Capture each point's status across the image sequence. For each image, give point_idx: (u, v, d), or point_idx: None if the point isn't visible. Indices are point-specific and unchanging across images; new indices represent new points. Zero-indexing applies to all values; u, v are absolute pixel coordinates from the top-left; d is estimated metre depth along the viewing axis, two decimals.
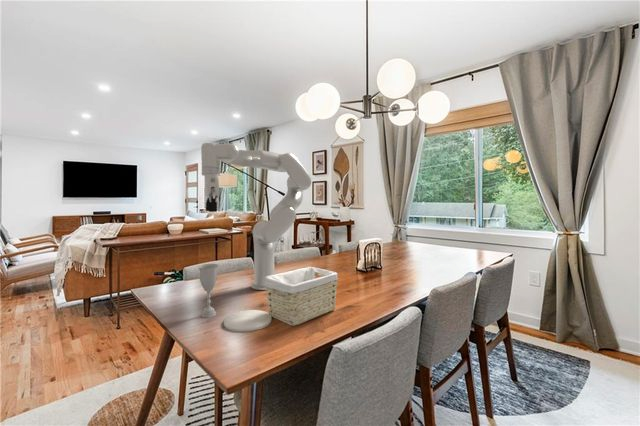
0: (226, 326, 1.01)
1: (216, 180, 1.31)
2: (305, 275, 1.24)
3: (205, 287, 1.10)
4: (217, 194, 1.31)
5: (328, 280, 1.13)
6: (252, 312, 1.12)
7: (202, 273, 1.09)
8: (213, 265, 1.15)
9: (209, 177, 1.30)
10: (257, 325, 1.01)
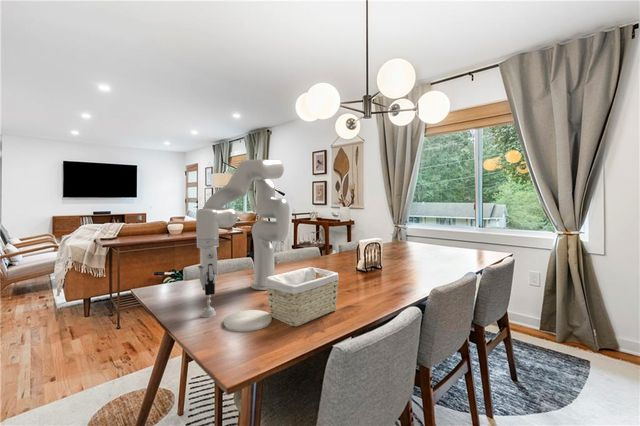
0: (226, 326, 1.01)
1: (214, 255, 1.08)
2: (306, 275, 1.24)
3: None
4: (215, 272, 1.08)
5: (329, 280, 1.12)
6: (252, 312, 1.12)
7: (202, 273, 1.09)
8: None
9: (206, 252, 1.07)
10: (257, 325, 1.01)
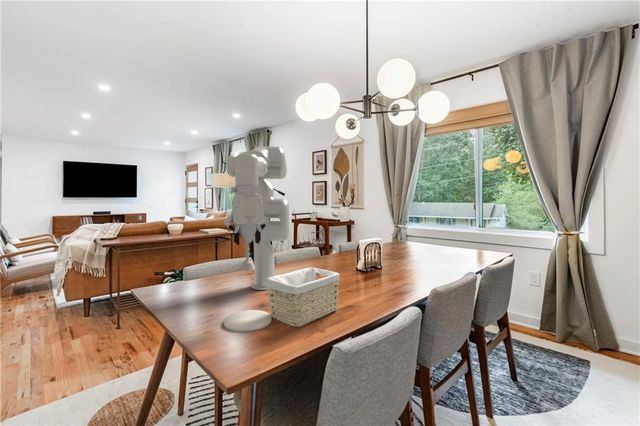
0: (226, 326, 1.01)
1: (233, 202, 1.01)
2: (306, 276, 1.23)
3: None
4: (233, 220, 1.01)
5: (331, 281, 1.12)
6: (252, 312, 1.12)
7: None
8: None
9: None
10: (257, 325, 1.01)
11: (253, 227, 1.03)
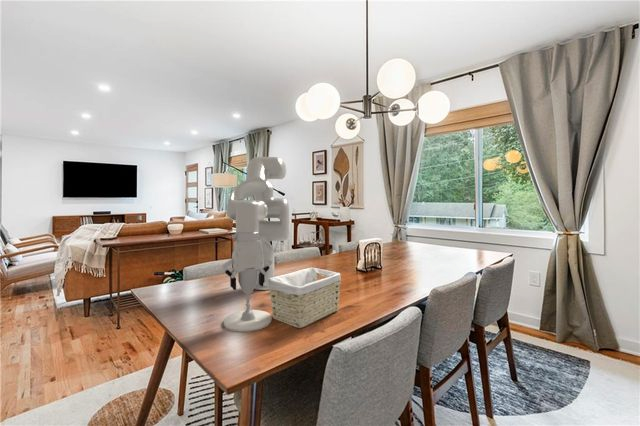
0: (226, 326, 1.01)
1: (234, 250, 1.02)
2: (307, 276, 1.23)
3: None
4: (234, 268, 1.02)
5: (332, 281, 1.12)
6: None
7: None
8: None
9: (233, 245, 1.04)
10: (257, 325, 1.01)
11: (254, 278, 1.04)
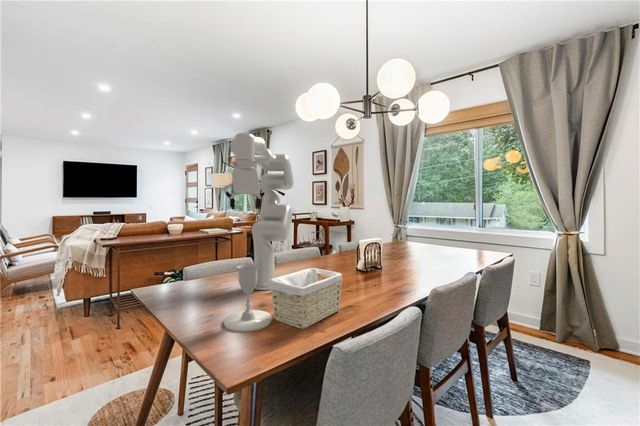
0: (226, 326, 1.01)
1: (233, 174, 1.18)
2: (307, 276, 1.22)
3: None
4: (233, 190, 1.18)
5: (334, 281, 1.12)
6: None
7: None
8: None
9: None
10: (257, 325, 1.01)
11: (254, 278, 1.04)
